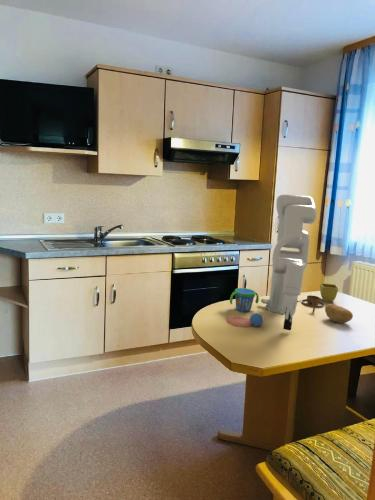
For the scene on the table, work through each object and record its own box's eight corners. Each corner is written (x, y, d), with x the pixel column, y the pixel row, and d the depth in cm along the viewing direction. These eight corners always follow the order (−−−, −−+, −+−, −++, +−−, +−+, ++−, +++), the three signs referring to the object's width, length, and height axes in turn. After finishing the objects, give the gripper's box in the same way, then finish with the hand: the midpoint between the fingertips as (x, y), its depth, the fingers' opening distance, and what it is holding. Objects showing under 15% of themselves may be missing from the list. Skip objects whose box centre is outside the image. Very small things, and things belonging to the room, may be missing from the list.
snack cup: (253, 306, 217) (255, 287, 215) (261, 313, 207) (263, 294, 205) (225, 306, 214) (227, 287, 212) (232, 313, 204) (234, 293, 202)
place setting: (332, 308, 227) (333, 297, 226) (315, 315, 213) (317, 304, 212) (303, 299, 239) (305, 289, 238) (285, 305, 225) (287, 295, 224)
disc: (222, 322, 189) (222, 322, 189) (231, 315, 201) (231, 314, 201) (249, 329, 184) (249, 328, 184) (257, 320, 196) (257, 320, 196)
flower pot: (320, 301, 235) (322, 286, 234) (318, 297, 244) (320, 282, 242) (336, 303, 234) (338, 288, 232) (333, 299, 242) (335, 284, 241)
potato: (344, 328, 195) (346, 312, 193) (319, 318, 206) (321, 303, 204) (355, 325, 200) (358, 309, 199) (331, 315, 211) (333, 301, 210)
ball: (245, 318, 188) (256, 312, 185) (250, 315, 193) (260, 309, 190) (252, 330, 187) (263, 324, 184) (256, 326, 192) (267, 321, 189)
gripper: (287, 284, 188) (282, 322, 192) (279, 292, 175) (275, 332, 178) (303, 287, 185) (298, 326, 189) (297, 295, 172) (292, 336, 175)
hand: (287, 329), depth 183 cm, fingers closed
